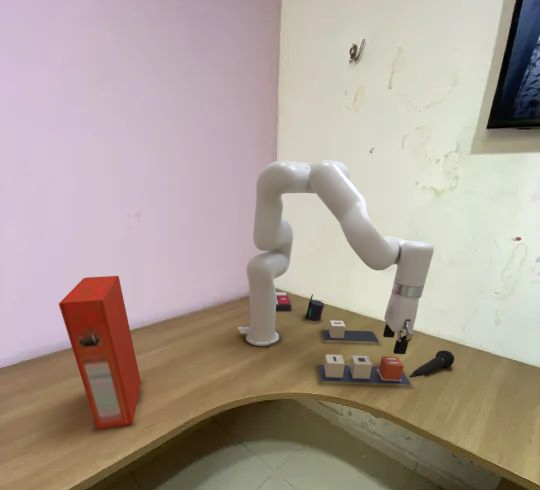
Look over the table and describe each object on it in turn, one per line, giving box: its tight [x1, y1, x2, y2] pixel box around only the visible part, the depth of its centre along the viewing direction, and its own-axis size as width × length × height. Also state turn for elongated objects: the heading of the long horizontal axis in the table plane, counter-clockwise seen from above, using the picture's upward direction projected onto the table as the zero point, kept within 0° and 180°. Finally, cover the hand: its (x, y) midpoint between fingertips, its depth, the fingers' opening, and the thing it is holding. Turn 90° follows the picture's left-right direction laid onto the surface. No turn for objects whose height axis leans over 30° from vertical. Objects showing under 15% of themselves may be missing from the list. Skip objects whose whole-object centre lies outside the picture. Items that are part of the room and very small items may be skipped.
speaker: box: [304, 294, 325, 322], centre depth 131 cm, size 8×6×10 cm
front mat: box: [318, 364, 411, 385], centre depth 95 cm, size 26×9×1 cm, turn 88°
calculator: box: [276, 291, 292, 312], centre depth 147 cm, size 11×4×15 cm
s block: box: [378, 356, 405, 380], centre depth 93 cm, size 5×5×5 cm
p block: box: [349, 355, 373, 379], centre depth 94 cm, size 5×5×5 cm
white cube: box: [323, 354, 346, 378], centre depth 94 cm, size 5×5×5 cm
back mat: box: [321, 329, 379, 343], centre depth 118 cm, size 20×9×1 cm, turn 88°
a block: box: [328, 319, 346, 338], centre depth 117 cm, size 5×5×5 cm
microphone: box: [408, 349, 455, 378], centre depth 98 cm, size 6×6×20 cm
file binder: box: [58, 275, 142, 431], centre depth 74 cm, size 8×17×32 cm, turn 14°
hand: (393, 344), depth 90 cm, fingers open, 9 cm apart
